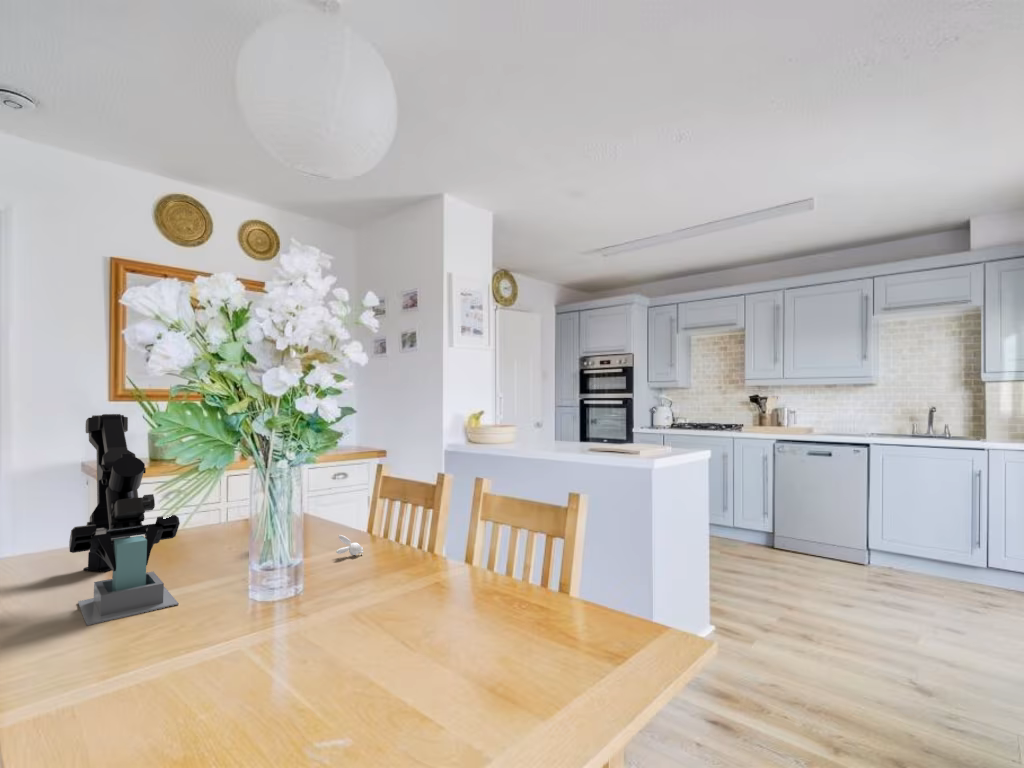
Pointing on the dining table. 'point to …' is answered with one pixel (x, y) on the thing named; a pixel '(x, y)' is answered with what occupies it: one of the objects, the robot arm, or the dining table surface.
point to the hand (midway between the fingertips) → (130, 567)
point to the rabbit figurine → (353, 547)
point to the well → (125, 600)
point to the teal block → (129, 563)
